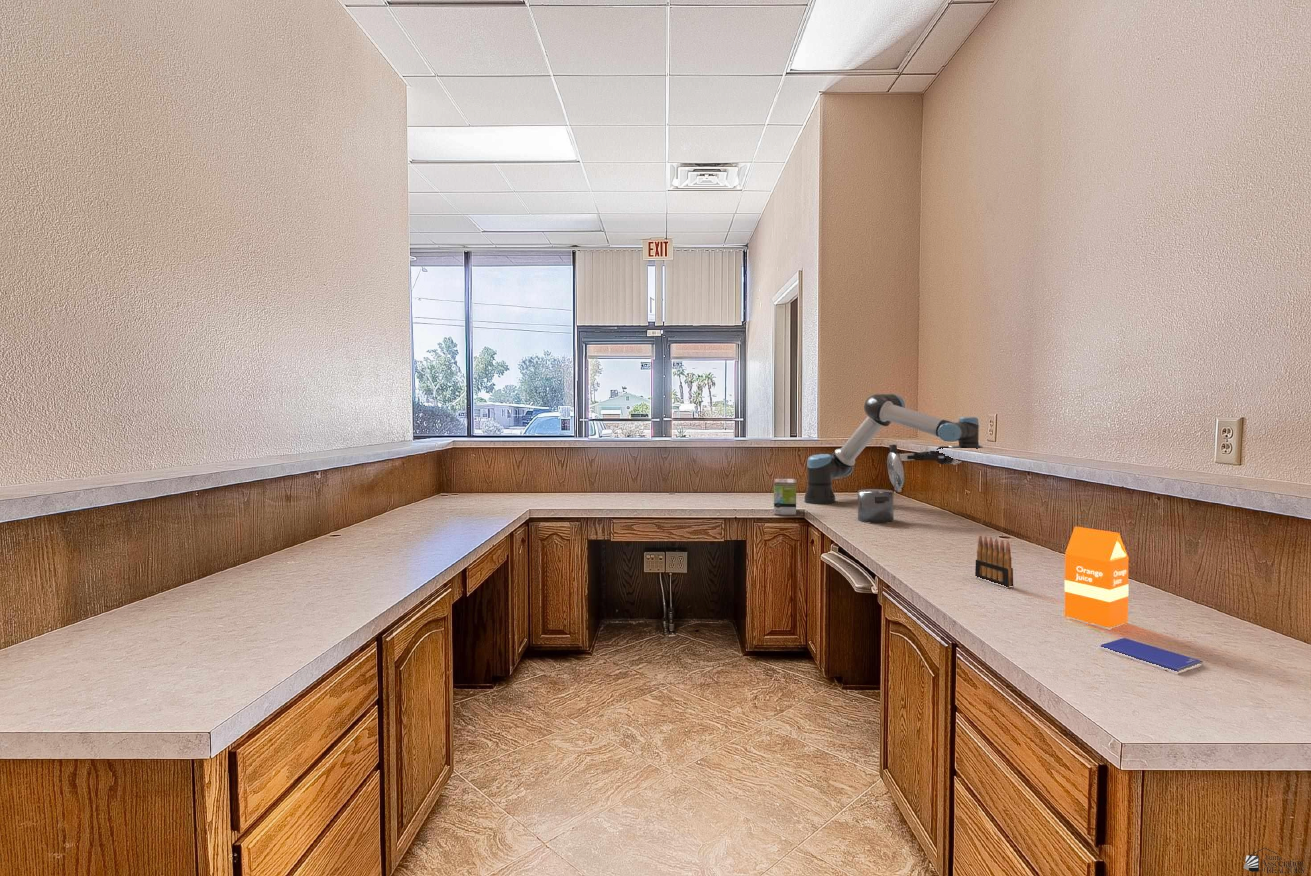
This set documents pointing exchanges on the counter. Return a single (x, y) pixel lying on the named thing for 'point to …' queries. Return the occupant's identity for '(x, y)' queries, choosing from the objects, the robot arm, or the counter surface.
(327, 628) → the counter surface
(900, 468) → the cooker lid
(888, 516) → the grey metal cube
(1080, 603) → the orange juice
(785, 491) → the tea box
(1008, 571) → the ammunition clip
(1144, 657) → the hard drive
